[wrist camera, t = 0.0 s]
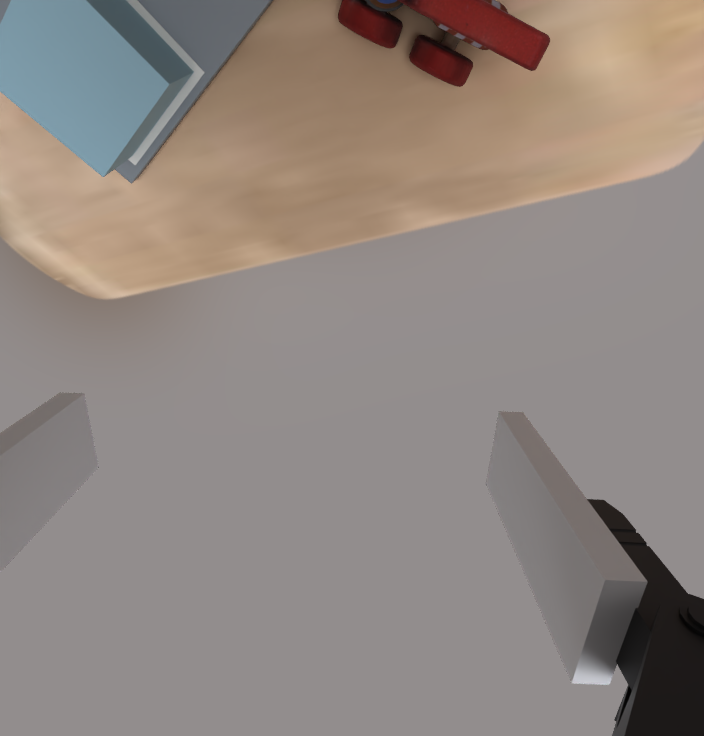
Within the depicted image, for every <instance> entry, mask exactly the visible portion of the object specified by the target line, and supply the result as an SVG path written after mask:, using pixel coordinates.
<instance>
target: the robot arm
mask: <svg viewBox="0 0 704 736" xmlns="http://www.w3.org/2000/svg"><path fill="white" fill-rule="evenodd" d="M98 468H99V466H98V461H97V456H96V451H95V446H94V441H93V436H92V431H91V425H90V420H89V416H88V410H87V406H86V400H85V395H84V394H82V393H59V394H57V395H56V396H54V397H53V398H51V399H50V400H48V401H47V402H45V403H44V404H42V405H41V406H40V407H38V408H37V409H35V410H34V411H32V412H31V413H29V414H28V415H26V416H25V417H23V418H22V419H20V420H19V421H17V422H16V423H14V424H13V425H11V426H10V427H9V428H7V429H6V430H4V431H3V432H1V433H0V572H1V571H2V570H3V569H4V568H5V567H6V566H7V565H8V564H9V562H11V560H12V559H13V558H14V557H15V556H16V555H17V554H18V553H19V552H20V551H21V550H22V549H23V548H24V546H25V545H26V544H27V543H28V542H29V541H30V540H31V539H32V538H33V537H34V536H35V535H36V534H37V533H38V532H39V531H40V530H41V529H42V527H43V526H44V525H45V524H46V523H47V522H48V521H49V520H50V519H51V518H52V517H53V516H54V515H55V514H56V513H57V511H58V510H59V509H60V508H61V507H62V506H63V505H64V504H65V503H66V502H67V501H68V500H69V499H70V498H71V497H72V495H73V494H74V493H75V492H76V491H77V490H78V489H79V488H80V487H81V486H82V485H83V484H84V483H85V482H86V480H88V478H89V477H90V476H91V475H92V474H93V473H94V472H95V471H96V470H97V469H98ZM486 486H487V488H488V490H489V493H490V495H491V497H492V500H493V502H494V504H495V507H496V509H497V511H498V514H499V516H500V518H501V520H502V523H503V525H504V528H505V530H506V532H507V534H508V537H509V539H510V541H511V544H512V546H513V548H514V551H515V553H516V555H517V558H518V560H519V562H520V565H521V567H522V569H523V571H524V574H525V576H526V579H527V581H528V583H529V586H530V588H531V590H532V592H533V595H534V597H535V600H536V602H537V604H538V607H539V609H540V611H541V613H542V616H543V618H544V620H545V623H546V625H547V627H548V630H549V632H550V634H551V637H552V639H553V641H554V644H555V646H556V648H557V651H558V653H559V655H560V658H561V660H562V662H563V665H564V667H565V669H566V672H567V674H568V676H569V678H570V681H571V683H579V684H602V685H609V684H610V682H611V679H612V676H613V674H614V671H615V668H616V665H617V664H618V666H619V668H620V670H621V672H622V674H623V675H624V677H625V679H626V681H627V683H628V687H627V689H626V692H625V694H624V697H623V700H622V702H621V705H620V707H619V710H618V712H617V715H616V717H615V721H616V725H615V728H614V731H613V735H612V736H704V599H702V598H699V597H696V596H693V595H690V594H688V593H687V592H686V591H685V590H684V589H683V587H682V586H681V585H680V584H679V582H678V581H677V580H676V579H675V578H674V576H673V575H672V574H671V572H670V571H669V570H668V569H667V568H666V566H665V565H664V564H663V563H662V561H661V560H660V559H659V558H658V557H657V555H656V554H655V553H654V552H653V550H652V549H651V548H650V547H649V546H647V545H646V542H645V541H644V539H643V538H642V537H641V536H640V534H639V533H636V529H635V528H634V527H633V526H632V525H631V524H630V522H629V521H628V520H627V518H626V517H625V516H624V515H623V514H622V513H621V512H619V511H618V510H617V509H615V508H614V507H613V506H611V505H610V504H608V503H607V502H606V501H604V500H593V499H586V497H585V496H584V495H583V493H582V492H581V491H580V489H579V488H578V486H577V485H576V484H575V482H574V481H573V480H572V478H571V477H570V476H569V474H568V473H567V472H566V470H565V469H564V468H563V466H562V465H561V463H560V462H559V461H558V459H557V458H556V457H555V455H554V454H553V453H552V452H551V450H550V448H549V447H548V446H547V444H546V443H545V442H544V440H543V439H542V438H541V436H540V435H539V434H538V432H537V431H536V429H535V428H534V427H533V425H532V424H531V423H530V421H529V420H528V419H527V418H526V416H525V415H524V413H522V412H501V411H499V413H498V418H497V424H496V430H495V435H494V441H493V447H492V452H491V458H490V463H489V469H488V474H487V480H486Z"/></svg>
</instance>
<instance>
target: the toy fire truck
mask: <svg viewBox="0 0 704 736" xmlns="http://www.w3.org/2000/svg"><path fill="white" fill-rule="evenodd" d="M404 4H405V5H407V6H409V7H410V8H411V9H413V10H415V11H417V12H418V13H420V14H422V15H424V16H426V17H428V18H430V19H432V20H433V21H434V23H435V24H436V26H437V27H439V28H441V29H443V30H445V31H446V33H445V35H444V37H443V40H442V42H441V43H439V42H437V41H435V40H433V39H431V38H428V37H426V36H424V35H419V36H418V37H417V38H416V39H415V43H414V45H413V48H412V50H411V53H410V61H411V62H412V63H413V64H414V65H416V66H417V67H418V68H420V69H422V70H423V71H425V72H427V73H429V74H431V75H432V76H434V77H436V78H438V79H440V80H443V81H445V82H447V83H449V84H452V85H454V86H459V87H461V86H463V85H464V84H465V82H466V80H467V78H468V76H469V74H470V72H471V70H472V68H473V62H472V61H471V60H470V59H469V58H467V57H465V56H463V55H462V54H460V53H458V52H456V51H454V50H455V48H456V46H457V44H458V42H459V40H460V39H462V40H463V41H465V42H467V43H469V44H471V45H473V46H475V47H478V48H479V49H482V50H488V49H490V50H492V51H493V52H495V53H497V54H499V55H501V56H503V57H505V58H507V59H509V60H511V61H513V62H515V63H516V64H518V65H520V66H522V67H524V68H526V69H528V70H531V71H533V70H536V68H537V66H538V64H539V62H540V60H541V59H542V57H543V55H544V53H545V51H546V49H547V47H548V45H549V43H550V38H549V36H548V35H547V34H545V33H543V32H541V31H539V30H537V29H535V28H534V27H532V26H530V25H528V24H526V23H524V22H523V21H521V20H519V19H517V18H515V17H514V16H512V15H510V14H508V12H507V9H506V8H505V6H504V5H502V4H501V3H499V2H497V1H495V0H342V3H341V7H340V10H339V14H338V19H339V22H340V23H341V24H343V25H344V26H345V27H347V28H348V29H350V30H352V31H353V32H355V33H357V34H359V35H360V36H362V37H364V38H366V39H368V40H370V41H372V42H374V43H376V44H378V45H381V46H383V47H386V48H394V47H395V46H396V44H397V42H398V39H399V36H400V33H401V31H402V27H403V25H402V22H401V21H400V20H399V19H397V18H396V17H394V16H392V15H391V14H389V13H387V12H388V11H393V10H396V9H398V8H400V7H401V6H403V5H404Z"/></svg>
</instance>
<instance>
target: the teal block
mask: <svg viewBox="0 0 704 736" xmlns="http://www.w3.org/2000/svg"><path fill="white" fill-rule="evenodd" d="M193 73H194V71H193V70H192V69H191V68H190V67H189V66H188V65H187V64H186V63H185V62H184V61H183V60H182V59H181V58H180V57H179V56H178V54H177V53H176V52H175V51H174V50H173V49H172V48H171V47H170V46H169V45H168V44H167V43H166V42H165V41H164V40H163V39H162V38H161V37H160V36H159V34H158V33H157V32H156V31H155V30H154V29H153V28H152V27H151V26H150V25H149V24H148V23H147V22H146V21H145V20H144V19H143V18H142V17H141V15H140V14H139V13H138V12H137V11H136V10H135V9H134V8H133V7H132V6H131V5H130V4H129V3H128V2H127V1H126V0H11V2H10V4H9V6H8V8H7V10H6V12H5V15H4V17H3V19H2V21H1V23H0V92H1V93H3V94H4V95H5V96H6V97H7V98H9V99H10V100H11V101H12V102H13V103H15V104H16V105H17V106H18V107H19V108H21V109H22V110H23V111H24V112H25V113H27V114H28V115H29V116H30V117H31V118H33V119H34V120H35V121H36V122H37V123H39V124H40V125H41V126H42V127H43V128H45V129H46V130H47V131H48V132H49V133H51V134H52V135H53V136H54V137H56V138H57V139H58V140H59V141H60V142H62V143H63V144H64V145H65V146H66V147H68V148H69V149H70V150H71V151H72V152H74V153H75V154H76V155H77V156H78V157H80V158H81V159H82V160H83V161H84V162H86V163H87V164H88V165H89V166H90V167H92V168H93V169H94V170H95V171H96V172H98V173H99V174H100V175H101V176H102V177H104V176H106V175H107V174H108V173H110V172H111V171H113V170H114V169H115V168H117V167H118V166H119V165H121V164H122V163H124V162H125V161H126V160H128V159H129V158H130V157H132V156H133V155H134V153H135V152H136V151H137V149H138V148H139V147H140V145H141V144H142V142H143V141H144V140H145V138H146V137H147V136H148V134H149V133H150V131H151V130H152V129H153V127H154V126H155V125H156V123H157V122H158V121H159V119H160V118H161V116H162V115H163V114H164V112H165V111H166V110H167V108H168V107H169V105H170V104H171V103H172V101H173V100H174V99H175V97H176V96H177V95H178V93H179V92H180V90H181V89H182V88H183V86H184V85H185V84H186V82H187V81H188V80H189V78H190V77H191V75H192V74H193Z"/></svg>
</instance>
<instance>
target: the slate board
mask: <svg viewBox="0 0 704 736" xmlns="http://www.w3.org/2000/svg"><path fill="white" fill-rule="evenodd" d="M126 1H127V2H128V3H129V4H130V5H131V6H132V7H133V8H134V9H135V10H136V11H137V12H138V13H139V14H140V15H141V17H142V18H143V19H144V20H145V21H146V22H147V23H148V24H149V25H150V26H151V27H152V28H153V29H154V30H155V31H156V32H157V33H158V34H159V36H160V37H161V38H162V39H163V40H164V41H165V42H166V43H167V44H168V45H169V46H170V47H171V48H172V49H173V50H174V51H175V52H176V53H177V54H178V56H179V57H180V58H181V59H182V60H183V61H184V62H185V63H186V64H187V65H188V66H189V67H190V68H191V69H192V70H193V71H194V73H193V74H192V75H191V77H190V78H189V80H188V81H187V82H186V84H185V85H184V86H183V88H182V89H181V90H180V92H179V93H178V95H177V96H176V97H175V99H174V100H173V101H172V103H171V104H170V105H169V107H168V108H167V110H166V111H165V112H164V114H163V115H162V116H161V118H160V119H159V121H158V122H157V123H156V125H155V126H154V127H153V129H152V130H151V131H150V133H149V134H148V136H147V137H146V138H145V140H144V141H143V142H142V144H141V145H140V147H139V148H138V149H137V151H136V152H135V153H134V155H133V156H132V157H130V158H129V159H128V160H126V161H125V162H124V163H122V164H121V165H119V166H118V167H117V168H115V170H116V171H117V172H118V173H120V174H121V175H122V176H123V177H124V178H126V179H127V180H128V181H129V182H130V183H133V182H134V181H135V180H136V179H137V178H138V177H139V176H140V174H141V173H142V172H143V170H144V169H145V168H146V166H147V165H148V164H149V163H150V161H151V160H152V159H153V157H154V156H155V155H156V153H157V152H158V151H159V149H160V148H161V147H162V145H163V144H164V143H165V142H166V140H167V139H168V138H169V136H170V135H171V134H172V132H173V131H174V130H175V128H176V127H177V126H178V124H179V123H180V122H181V121H182V119H183V118H184V117H185V115H186V114H187V113H188V111H189V110H190V109H191V107H192V106H193V105H194V103H195V102H196V101H197V100H198V98H199V97H200V96H201V94H202V93H203V92H204V90H205V89H206V88H207V86H208V85H209V84H210V82H211V81H212V80H213V79H214V77H215V76H216V75H217V73H218V72H219V71H220V69H221V68H222V67H223V65H224V64H225V63H226V61H227V60H228V59H229V58H230V56H231V55H232V54H233V52H234V51H235V50H236V48H237V47H238V46H239V44H240V43H241V42H242V40H243V39H244V38H245V37H246V35H247V34H248V33H249V31H250V30H251V29H252V27H253V26H254V25H255V23H256V22H257V21H258V19H259V18H260V17H261V16H262V14H263V13H264V12H265V10H266V9H267V8H268V6H269V5H270V4H271V2H272V1H273V0H126ZM10 2H11V0H0V23H1V21H2V19H3V17H4V15H5V12H6V10H7V8H8V6H9V4H10Z"/></svg>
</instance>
